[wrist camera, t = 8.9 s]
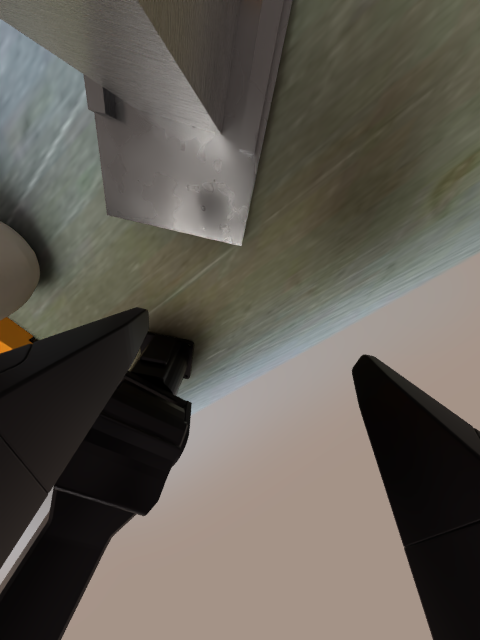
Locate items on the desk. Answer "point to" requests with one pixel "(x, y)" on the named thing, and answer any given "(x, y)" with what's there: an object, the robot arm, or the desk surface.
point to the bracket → (12, 335)
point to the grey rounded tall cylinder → (16, 271)
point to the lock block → (142, 49)
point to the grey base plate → (195, 142)
